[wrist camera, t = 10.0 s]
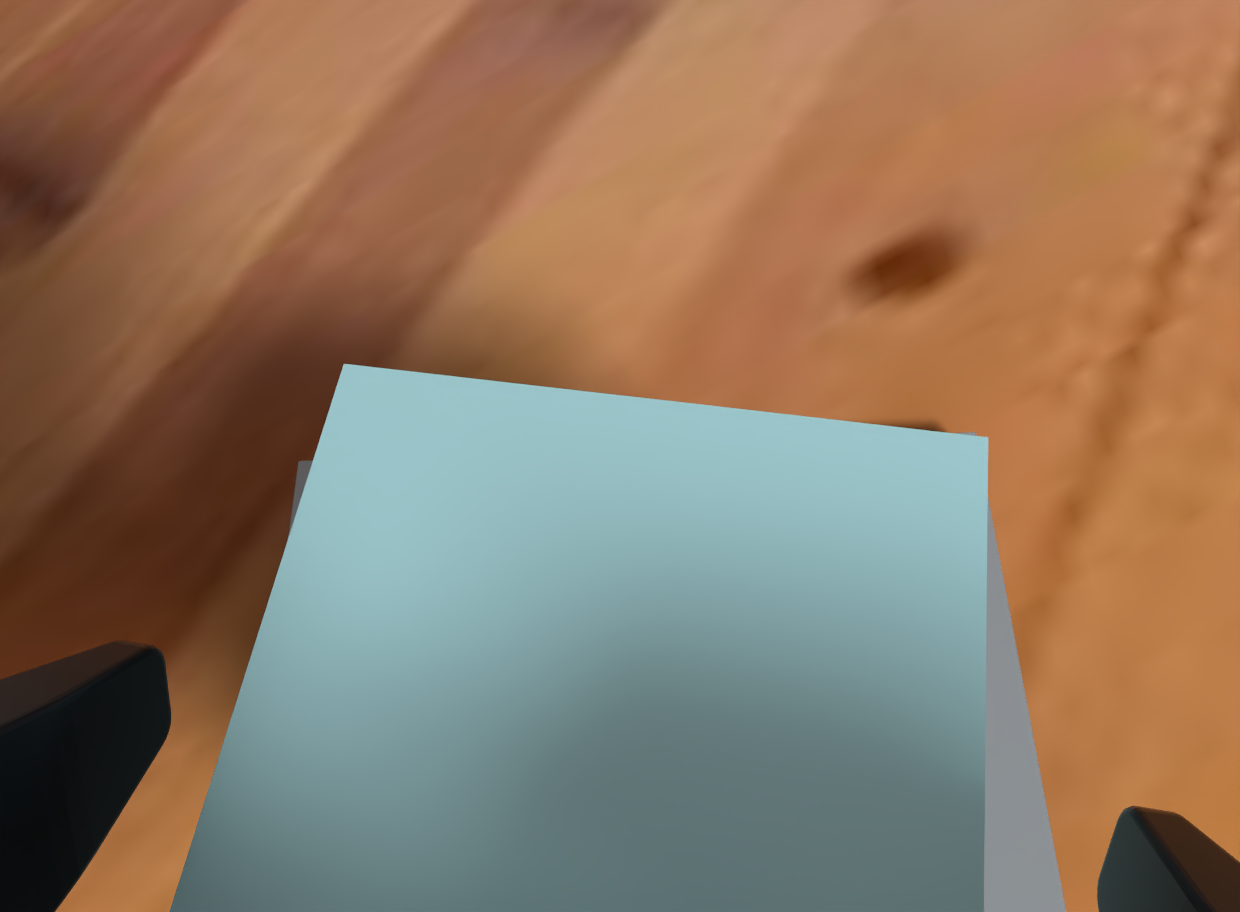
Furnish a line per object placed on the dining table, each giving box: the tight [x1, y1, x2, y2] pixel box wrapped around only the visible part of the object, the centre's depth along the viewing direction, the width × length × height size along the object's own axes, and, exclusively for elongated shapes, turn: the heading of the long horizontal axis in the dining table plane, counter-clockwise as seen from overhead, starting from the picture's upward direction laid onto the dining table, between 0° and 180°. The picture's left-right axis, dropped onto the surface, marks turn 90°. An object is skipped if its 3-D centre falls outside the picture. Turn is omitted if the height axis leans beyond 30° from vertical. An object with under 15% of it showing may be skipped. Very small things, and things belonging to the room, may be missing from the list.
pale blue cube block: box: [170, 364, 988, 912], centre depth 13 cm, size 7×7×9 cm
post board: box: [288, 432, 1066, 912], centre depth 16 cm, size 14×14×4 cm
